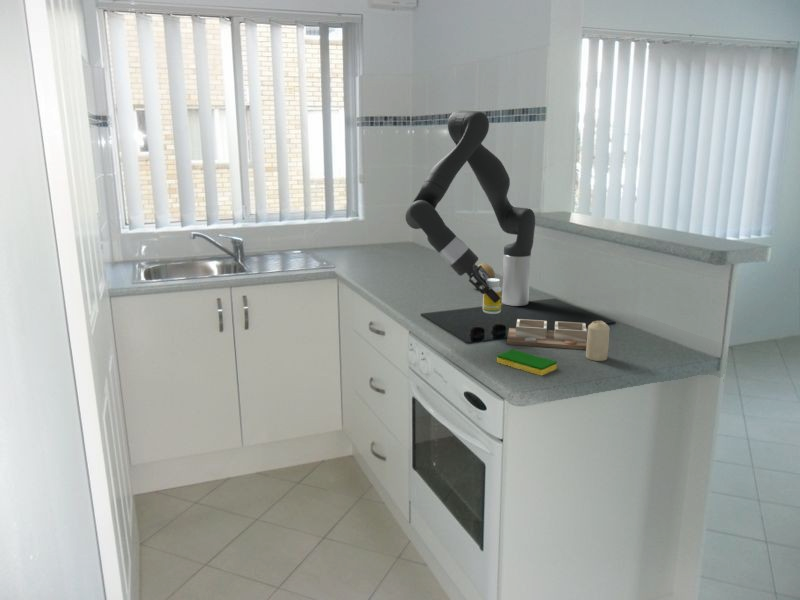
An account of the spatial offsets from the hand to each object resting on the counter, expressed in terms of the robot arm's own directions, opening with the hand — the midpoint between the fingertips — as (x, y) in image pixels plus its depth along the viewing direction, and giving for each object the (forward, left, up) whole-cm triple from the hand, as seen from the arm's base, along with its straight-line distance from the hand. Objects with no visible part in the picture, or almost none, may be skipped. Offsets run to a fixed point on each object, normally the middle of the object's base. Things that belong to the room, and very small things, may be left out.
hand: (498, 297), depth 193 cm
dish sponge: (+24, +9, -12) cm, 29 cm away
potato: (-58, -10, -12) cm, 60 cm away
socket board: (+1, +15, -11) cm, 19 cm away
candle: (+14, +27, -12) cm, 33 cm away
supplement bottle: (0, -2, -5) cm, 5 cm away
